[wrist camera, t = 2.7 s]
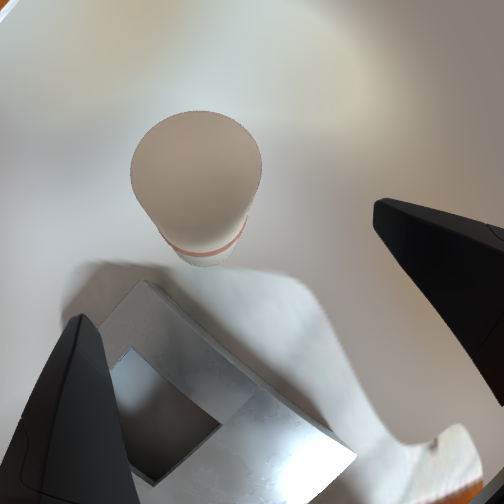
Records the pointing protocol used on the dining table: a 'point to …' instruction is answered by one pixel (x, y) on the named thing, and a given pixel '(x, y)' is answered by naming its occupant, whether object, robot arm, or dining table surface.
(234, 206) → the coin roll
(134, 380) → the dining table surface
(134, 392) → the dining table surface
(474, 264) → the robot arm
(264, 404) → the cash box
